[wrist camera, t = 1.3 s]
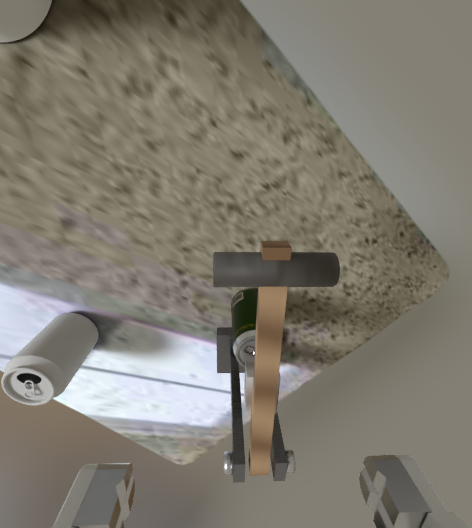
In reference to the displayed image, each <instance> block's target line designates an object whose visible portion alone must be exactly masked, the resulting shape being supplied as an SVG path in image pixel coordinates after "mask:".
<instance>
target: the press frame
mask: <svg viewBox="0 0 472 528" xmlns="http://www.w3.org/2000/svg"><path fill="white" fill-rule="evenodd" d="M217 373H230V377H231V415H232V452H224V475H233V482H244V479H245V455H244V439H243V423H242V408H241V393H240V378H239V373H245V367H243V366H242V365H241V364H239V362H238V361H237V360H236V356H235V354H234V351H233V336H232V328H217ZM270 458H271V465H272V472H273V478H274V481H284V480H285V476H286V473H295V469H296V467H295V458H294V453H293V451H292V450H285V449H284V444H283V439H282V434H281V429H280V424H279V419H278V414H277V413H276V414H275V415H274V424H273V434H272V444H271V453H270Z"/></svg>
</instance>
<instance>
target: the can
mask: <svg viewBox="0 0 472 528" xmlns="http://www.w3.org/2000/svg"><path fill="white" fill-rule="evenodd" d="M98 336H99V334H98V330H97V328H96V326H95V325H94V323H93V322H92V321H90V320H89V319H88V318H86V317H84V316H82V315H80V314H75V313H64V314H61V315H59V316H57V317H56V318H55V319H53V320H52V321H51V322H50V323H49V324H48V325H47V326H46V327H45V328H44V329H43V330H42V331H41V332H40V333H39V334H38V335H37V336H36V337H35V338H34V339H33V340H31V341H30V342H29V343H28V344H27V345H26V346H25V347H24V348H23V349H22V350H21V351H20V352H19V353H18V354H17V355H16V356H15V357H14V358H13V359H12V360H11V361H10V362H9V363H8V364H7V366H6V368H5V374H4V375H3V378H2V380H1V384H2V388H3V390H4V392H5V393H6V394H7V395H8V396H9V397H10V398H12V399H13V400H15V401H17V402H20V403H23V404H26V405H42V404H45V403H47V402H49V401H50V400H51V399H52V398H53V397H56V396H58V395H60V394H61V393H62V392H63V391H64V390H65V388H66V387H67V385H68V384H69V382H70V381H71V380H72V378H73V377H74V375H75V374H76V372H77V371H78V369H79V368H80V366H81V365H82V363H83V362H84V361H85V359H86V358H87V356H88V355H89V353H90V352H91V350H92V349H93V347H94V346H95V344H96V343H97V341H98Z"/></svg>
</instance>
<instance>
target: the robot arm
mask: <svg viewBox="0 0 472 528" xmlns="http://www.w3.org/2000/svg"><path fill="white" fill-rule="evenodd" d="M51 3H52V0H0V42H12V41H16V40H20V39H22V38H24V37H26V36H28V35H29V34H31V33H32V32H33V31H35V30H36V29H37V28H38V27H39V26H40V24H41V23H42V22H43V20H44V18H45V17H46V15H47V13H48V11H49V8H50V5H51ZM363 463H364V465H365V468H364V469H363V470H362V471H361V472H360V477H359V480H360V488H361V491H362V494H363V497H364V500H365V502H366V504H367V505H368V506H369V507H370V508H371V509H372V510H373V511H374V523H375V525H376V528H472V527H471V526H469V525H468V524H467V523H466V522H465V521H463V520H462V519H461V518H460V517H458V516H457V515H456V514H455V513H454V512H448V510H447V509H446V508H445V506H444V504H443V503H442V501H441V500H440V498H439V497H438V495H437V494H436V492H435V491H434V489H433V488H432V486H431V485H430V483H429V482H428V480H427V479H426V477H425V476H424V474H423V473H422V472H421V470H420V468H419V467H418V465H417V464H416V462H415V460H414V459H413V458H412V457H411V456H409V455H382V456H367V457H365V459H364V462H363ZM132 471H133V468H132V463H119V464H84V465H83V467H82V468H81V469H80V471H79V473H78V475H77V477H76V479H75V481H74V483H73V485H72V487H71V490H70V492H69V494H68V496H67V498H66V500H65V502H64V504H63V507H62V509H61V511H60V513H59V515H58V517H57V519H56V521H55V523H54V525H53V527H52V528H125V527H124V522H123V521H124V520H125V519H126V517H127V516H128V515H129V514H130V511H131V507H132V503H133V498H134V492H135V480H134V478H133V477H132V476H131V474H132Z"/></svg>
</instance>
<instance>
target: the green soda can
mask: <svg viewBox="0 0 472 528" xmlns="http://www.w3.org/2000/svg"><path fill="white" fill-rule="evenodd" d="M257 300H258V292H257V291H255V290H252V289H244V290H241V291H239V292H238V293H237V294H236V295H235V296H234V297H233V299H232V303H231V313H232V336H233V351H234V354H235V356H236V360H237V361H238V362H239V364H241V365H242V366H243V367H245V362H254V355H255V336H256V318H257Z"/></svg>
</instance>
